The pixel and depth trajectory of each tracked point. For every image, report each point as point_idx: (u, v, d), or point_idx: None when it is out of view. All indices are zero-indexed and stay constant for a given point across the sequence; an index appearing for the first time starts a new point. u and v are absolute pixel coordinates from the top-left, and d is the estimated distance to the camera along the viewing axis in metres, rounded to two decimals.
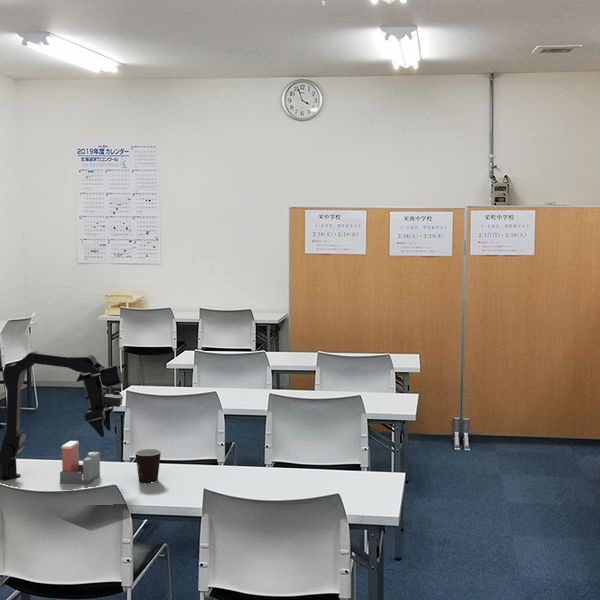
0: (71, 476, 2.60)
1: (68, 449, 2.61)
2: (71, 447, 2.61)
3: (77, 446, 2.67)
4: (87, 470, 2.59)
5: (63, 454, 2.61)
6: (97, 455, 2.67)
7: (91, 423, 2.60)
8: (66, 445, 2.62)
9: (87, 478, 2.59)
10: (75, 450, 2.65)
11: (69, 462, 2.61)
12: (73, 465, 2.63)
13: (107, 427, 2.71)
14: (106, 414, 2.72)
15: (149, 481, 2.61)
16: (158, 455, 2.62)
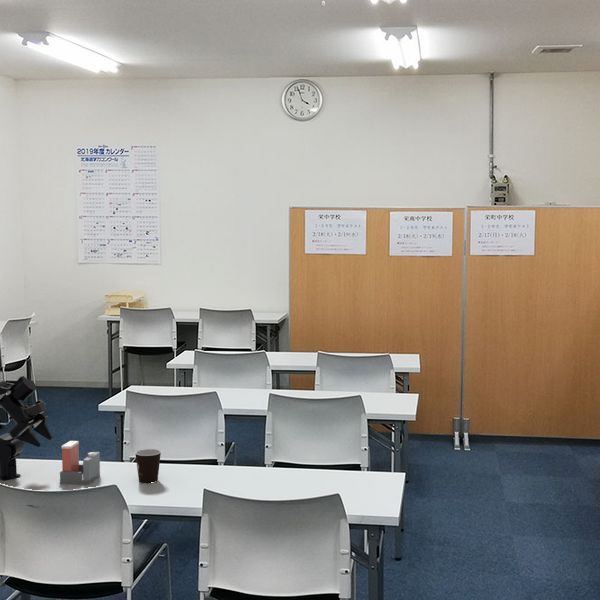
0: (71, 476, 2.60)
1: (68, 449, 2.61)
2: (71, 447, 2.61)
3: (77, 446, 2.67)
4: (87, 470, 2.59)
5: (63, 454, 2.61)
6: (97, 455, 2.67)
7: (21, 438, 2.59)
8: (66, 445, 2.62)
9: (87, 478, 2.59)
10: (75, 450, 2.65)
11: (69, 462, 2.61)
12: (73, 465, 2.63)
13: (48, 437, 2.70)
14: (41, 426, 2.70)
15: (149, 481, 2.61)
16: (158, 455, 2.62)
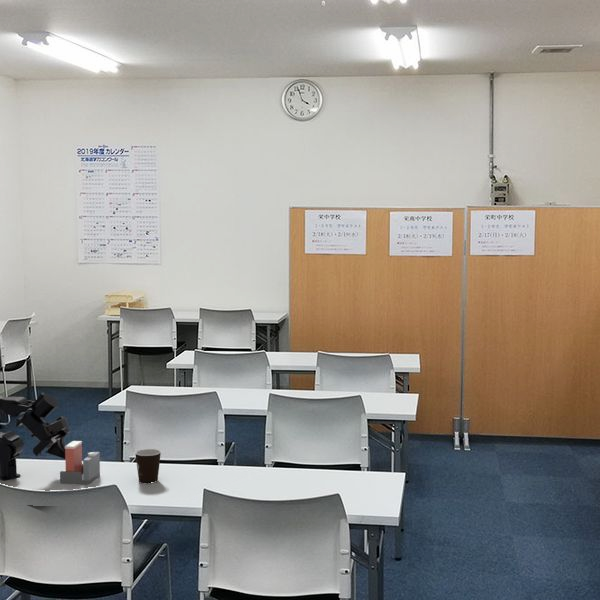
0: (71, 476, 2.60)
1: (71, 449, 2.61)
2: (74, 447, 2.61)
3: (80, 446, 2.67)
4: (87, 470, 2.59)
5: (66, 454, 2.61)
6: (97, 455, 2.67)
7: (50, 452, 2.63)
8: (69, 445, 2.62)
9: (87, 478, 2.59)
10: (78, 450, 2.65)
11: (72, 462, 2.61)
12: (76, 465, 2.63)
13: None
14: None
15: (149, 481, 2.61)
16: (158, 455, 2.62)
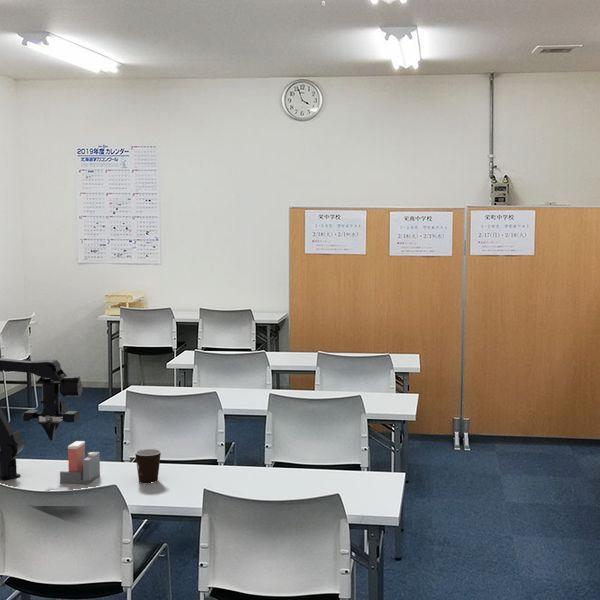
0: (71, 476, 2.60)
1: (74, 449, 2.61)
2: (77, 447, 2.61)
3: (83, 446, 2.67)
4: (87, 470, 2.59)
5: (69, 454, 2.61)
6: (97, 455, 2.67)
7: (54, 425, 2.64)
8: (72, 445, 2.62)
9: (87, 478, 2.59)
10: (81, 450, 2.65)
11: (75, 462, 2.61)
12: (79, 465, 2.63)
13: None
14: (50, 424, 2.67)
15: (149, 481, 2.61)
16: (158, 455, 2.62)
